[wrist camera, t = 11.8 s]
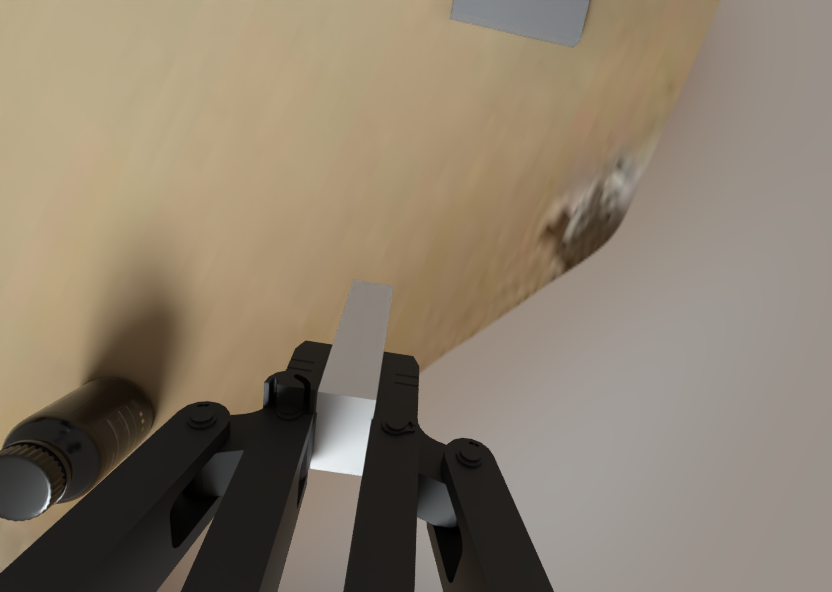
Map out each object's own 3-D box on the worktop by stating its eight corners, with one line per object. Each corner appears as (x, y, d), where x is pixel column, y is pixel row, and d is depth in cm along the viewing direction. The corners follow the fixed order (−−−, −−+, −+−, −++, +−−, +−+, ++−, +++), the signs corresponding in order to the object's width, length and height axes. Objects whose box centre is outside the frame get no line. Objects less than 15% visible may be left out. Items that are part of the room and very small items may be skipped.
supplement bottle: (82, 451, 44) (-34, 539, 32) (70, 376, 43) (-55, 440, 31) (161, 446, 44) (75, 533, 32) (151, 372, 43) (57, 434, 31)
